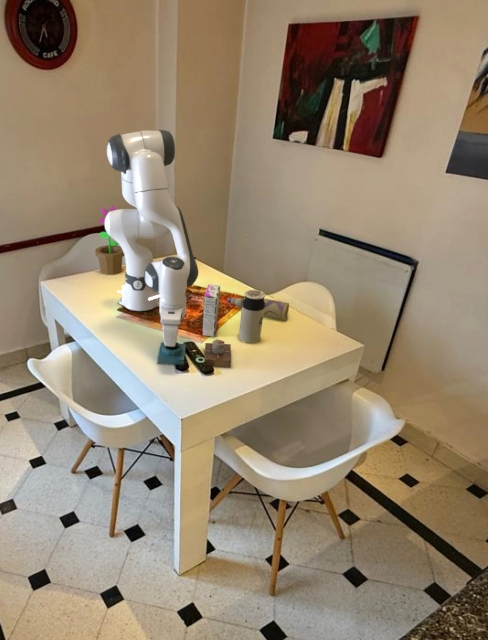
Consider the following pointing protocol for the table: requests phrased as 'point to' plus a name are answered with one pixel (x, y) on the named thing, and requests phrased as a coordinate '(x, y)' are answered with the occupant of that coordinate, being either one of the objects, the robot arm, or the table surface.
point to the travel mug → (252, 316)
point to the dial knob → (218, 346)
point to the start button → (173, 347)
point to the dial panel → (218, 356)
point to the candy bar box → (211, 310)
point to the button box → (172, 355)
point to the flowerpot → (109, 252)
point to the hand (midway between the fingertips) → (172, 344)
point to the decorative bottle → (267, 307)
